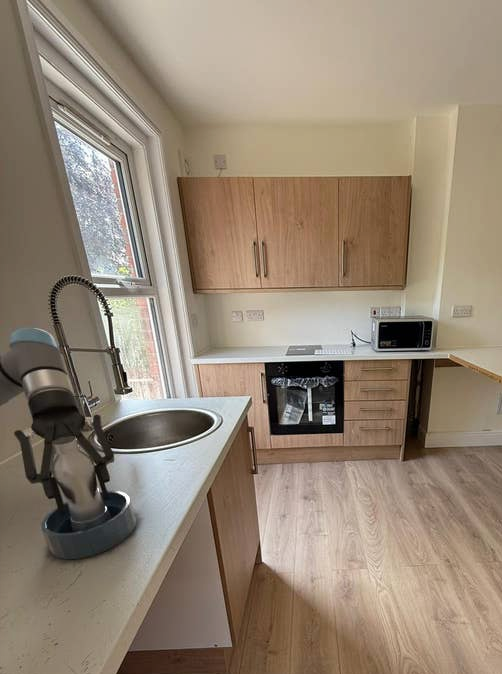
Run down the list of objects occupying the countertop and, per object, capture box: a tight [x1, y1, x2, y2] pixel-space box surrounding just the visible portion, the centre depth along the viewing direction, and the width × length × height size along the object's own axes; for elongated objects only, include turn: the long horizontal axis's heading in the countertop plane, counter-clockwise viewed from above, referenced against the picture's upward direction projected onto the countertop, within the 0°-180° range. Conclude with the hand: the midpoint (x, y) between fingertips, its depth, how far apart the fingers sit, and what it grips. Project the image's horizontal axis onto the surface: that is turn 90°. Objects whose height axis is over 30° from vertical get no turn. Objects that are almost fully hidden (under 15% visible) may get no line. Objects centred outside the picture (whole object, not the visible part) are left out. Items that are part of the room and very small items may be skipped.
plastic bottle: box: [52, 437, 111, 532], centre depth 65 cm, size 6×7×20 cm
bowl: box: [40, 489, 137, 560], centre depth 68 cm, size 14×14×6 cm
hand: (85, 505), depth 63 cm, fingers closed on plastic bottle, 6 cm apart
